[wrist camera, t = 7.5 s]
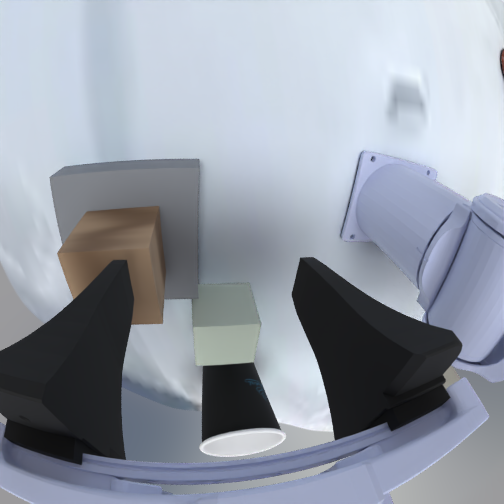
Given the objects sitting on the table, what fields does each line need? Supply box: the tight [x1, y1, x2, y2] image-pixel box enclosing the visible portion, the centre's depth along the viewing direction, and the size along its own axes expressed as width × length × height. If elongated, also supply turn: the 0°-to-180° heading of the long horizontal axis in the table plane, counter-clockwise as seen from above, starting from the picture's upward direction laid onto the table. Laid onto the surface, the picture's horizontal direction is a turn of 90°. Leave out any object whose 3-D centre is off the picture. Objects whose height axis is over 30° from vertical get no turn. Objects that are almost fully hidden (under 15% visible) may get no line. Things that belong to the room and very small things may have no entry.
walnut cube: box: [57, 206, 166, 325], centre depth 15 cm, size 5×5×5 cm
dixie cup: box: [199, 362, 286, 457], centre depth 24 cm, size 8×8×11 cm
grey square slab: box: [50, 159, 199, 299], centre depth 18 cm, size 10×10×3 cm
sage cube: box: [192, 283, 261, 366], centre depth 23 cm, size 5×5×5 cm
